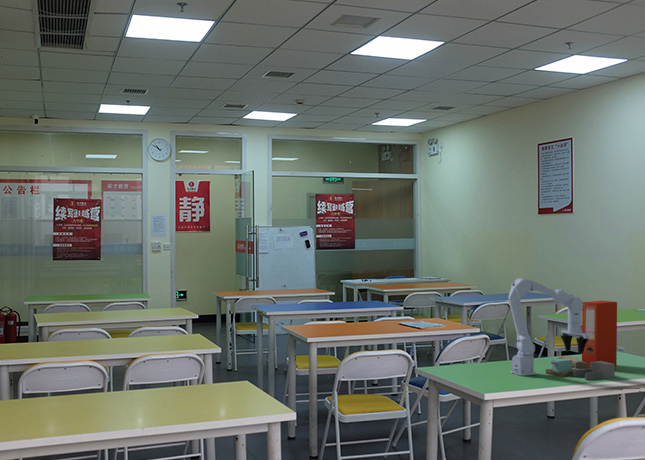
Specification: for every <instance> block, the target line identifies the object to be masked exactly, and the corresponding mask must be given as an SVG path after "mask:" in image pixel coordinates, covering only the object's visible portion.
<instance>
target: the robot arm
mask: <svg viewBox="0 0 645 460" xmlns="http://www.w3.org/2000/svg"><path fill="white" fill-rule="evenodd" d="M510 285H511V286H510V287H511V288H510V290H509V294H508V297H507V299H508V304H509V306H510V307H509V308H510V311H511V315H512V319H513V324H514V327H515V331H516V345H515V346H516V349H517V350H518V351H517V353H516V354H515V355H513V357H512V360H511V371H510V373H511V374H514V375H518V376H523V377H526V376H534V375H538V372H536V371H535V372H534V369H535V368H534V367H535V366H534V365H535V362H534V358H535V357H534V356H535V354H534V353H535V351H536V346H535V344H534V343H533V341H532V338H531V335H530V334H529V331H528V330H529V329H528V327H527V323H526V318H525V315H524V310H523V306H522V303H521V299H523V298H524V296H525V295H526V294H528V293H529V292H535V291H537V292H540V293H542V294H545V295H546V296H550V297H551V299H552V300H553V302H556V303H558V304H561V305H563V306H565V307H567V329H565V330H564V329H562V330H560V334H561V335H560V338H561V340H562V342H563V344H564V348H565V351H566V352H569V351H571V347H572V340H573V337H576V338H575V339H576V344H577V353H578V354H581V355H582V353H583V351H584V347H585V345H586V343H587V341H588V334H585V333H582V307H583V303H582V302H583V301H582V299H581V298H580V297H578V296H574V294H573V293H568V292H566V291H565V290H564V289H562V288H560V289H559V288H558V289H552V288H549V287H548V286H546V285H543V284H542V283H539V282H537V281H533V280H529V279H527V278H523V277H518V278H516V279H515V280H514V281H513V282H512V283H511V284H510Z"/></svg>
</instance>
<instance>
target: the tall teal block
mask: <svg viewBox="0 0 645 460" xmlns="http://www.w3.org/2000/svg"><path fill="white" fill-rule="evenodd" d="M550 364H552V365H551V367H552V368H551V369H552V371H555V372H569V371H572V360H570V359H558V358H557V359H555V358H553V359H552V361H551V362H550Z"/></svg>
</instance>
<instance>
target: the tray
mask: <svg viewBox="0 0 645 460" xmlns="http://www.w3.org/2000/svg"><path fill="white" fill-rule="evenodd" d="M573 370H575V369H572V371H569V372H555V371H552V368H547V369H545V374H547V375H551V376H554V377H559V378H562V377H569V376H571V377H573Z"/></svg>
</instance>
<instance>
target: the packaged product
mask: <svg viewBox="0 0 645 460" xmlns="http://www.w3.org/2000/svg"><path fill="white" fill-rule="evenodd" d="M557 359H570V360H572V369H575V370H581V369H590V368H587V365H588V364H587V363H585V362H583V361H582V360H580V359H578V358H575V357H573V356H569V355H564V356H563V355H562V356H558V358H557Z"/></svg>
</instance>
